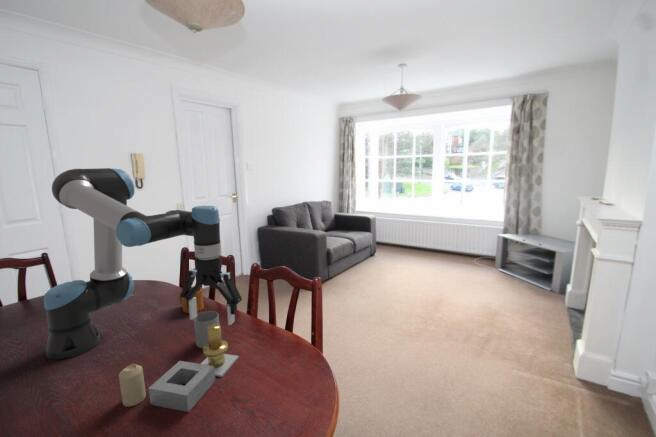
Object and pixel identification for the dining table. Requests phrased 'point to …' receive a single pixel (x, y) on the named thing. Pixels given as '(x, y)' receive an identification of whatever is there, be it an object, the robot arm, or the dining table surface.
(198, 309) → the mug
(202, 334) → the cup
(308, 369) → the dining table surface
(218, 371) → the mat
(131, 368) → the candle
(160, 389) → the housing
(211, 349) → the gold flanged shaft
